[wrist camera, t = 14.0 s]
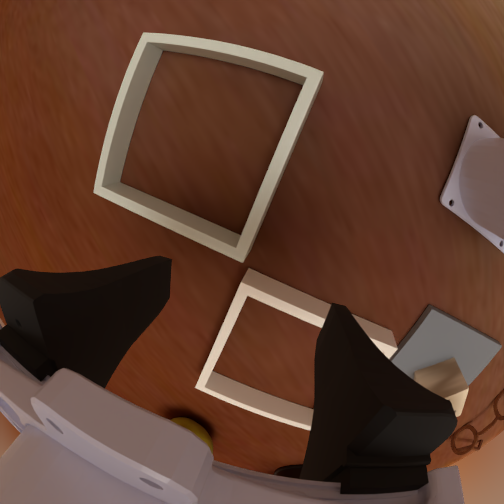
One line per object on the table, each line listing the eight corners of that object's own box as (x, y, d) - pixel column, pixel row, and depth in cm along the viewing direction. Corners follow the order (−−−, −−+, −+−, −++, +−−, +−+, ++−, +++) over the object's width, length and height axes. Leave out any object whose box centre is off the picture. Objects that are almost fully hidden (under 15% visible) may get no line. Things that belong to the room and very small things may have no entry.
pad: (499, 342, 19) (501, 346, 18) (428, 417, 24) (429, 421, 23) (429, 304, 19) (432, 309, 19) (349, 398, 24) (350, 403, 24)
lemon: (168, 396, 30) (141, 442, 23) (225, 418, 30) (206, 469, 22) (167, 431, 35) (147, 468, 27) (214, 449, 34) (198, 489, 26)
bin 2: (391, 330, 21) (397, 348, 18) (316, 414, 26) (314, 431, 24) (248, 267, 21) (241, 282, 19) (203, 371, 27) (195, 387, 25)
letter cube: (454, 357, 20) (469, 389, 15) (449, 385, 21) (460, 415, 16) (414, 371, 21) (425, 405, 17) (412, 397, 22) (420, 430, 18)
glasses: (510, 378, 20) (523, 401, 15) (532, 392, 20) (542, 411, 15) (447, 435, 25) (453, 460, 21) (479, 440, 25) (485, 460, 20)
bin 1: (322, 82, 16) (323, 72, 13) (250, 250, 21) (242, 263, 19) (159, 41, 16) (143, 32, 14) (111, 187, 22) (93, 192, 19)
